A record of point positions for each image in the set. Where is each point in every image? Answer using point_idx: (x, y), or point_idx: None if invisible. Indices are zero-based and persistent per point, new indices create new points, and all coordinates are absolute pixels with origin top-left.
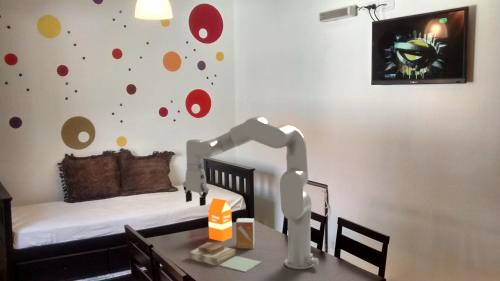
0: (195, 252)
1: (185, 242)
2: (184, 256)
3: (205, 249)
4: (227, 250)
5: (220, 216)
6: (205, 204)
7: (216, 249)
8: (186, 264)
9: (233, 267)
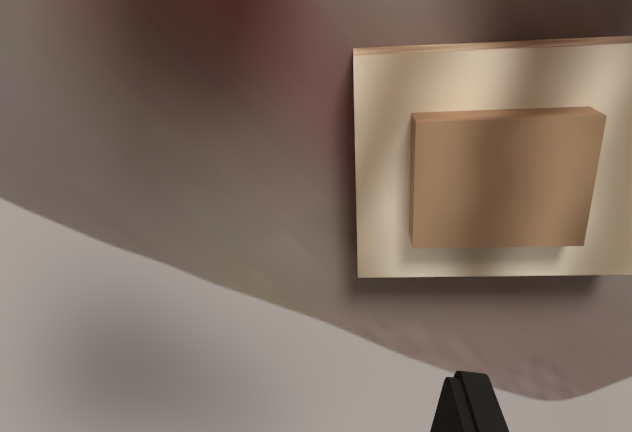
0: (405, 264)
1: (71, 20)
2: (297, 239)
3: (483, 242)
4: (627, 105)
5: None
6: (483, 378)
7: (587, 221)
8: (403, 321)
9: None
